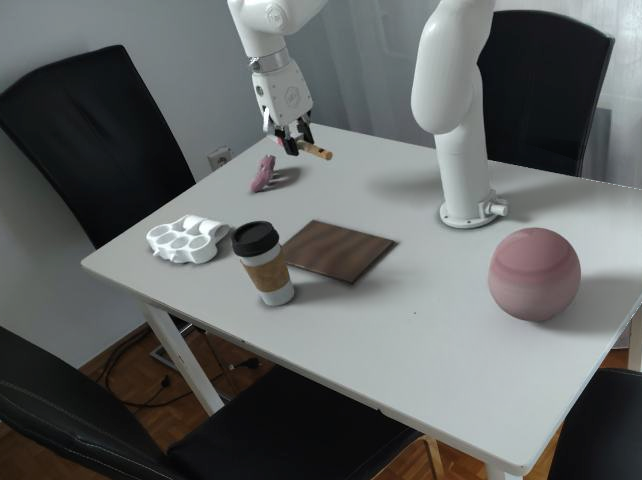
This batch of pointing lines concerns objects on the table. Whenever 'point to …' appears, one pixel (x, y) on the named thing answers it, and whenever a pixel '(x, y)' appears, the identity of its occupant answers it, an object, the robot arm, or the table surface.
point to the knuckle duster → (187, 239)
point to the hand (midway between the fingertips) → (300, 148)
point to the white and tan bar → (304, 145)
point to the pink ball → (534, 274)
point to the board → (334, 251)
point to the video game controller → (264, 173)
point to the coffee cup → (263, 261)
